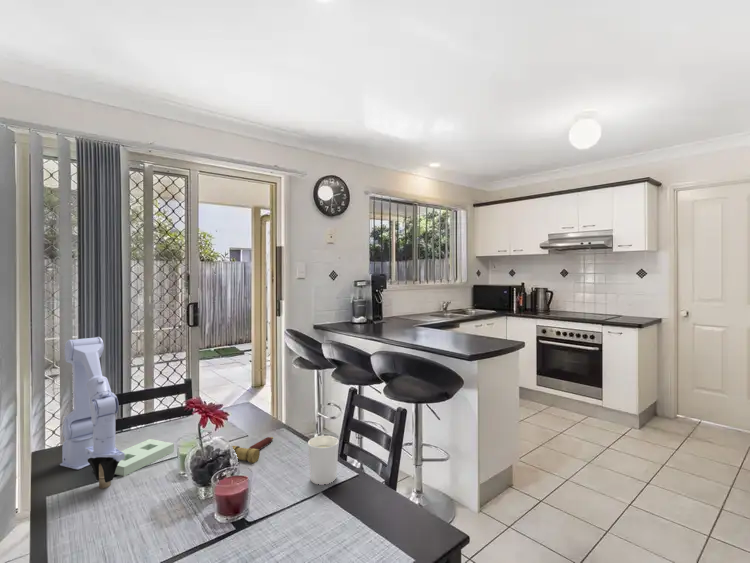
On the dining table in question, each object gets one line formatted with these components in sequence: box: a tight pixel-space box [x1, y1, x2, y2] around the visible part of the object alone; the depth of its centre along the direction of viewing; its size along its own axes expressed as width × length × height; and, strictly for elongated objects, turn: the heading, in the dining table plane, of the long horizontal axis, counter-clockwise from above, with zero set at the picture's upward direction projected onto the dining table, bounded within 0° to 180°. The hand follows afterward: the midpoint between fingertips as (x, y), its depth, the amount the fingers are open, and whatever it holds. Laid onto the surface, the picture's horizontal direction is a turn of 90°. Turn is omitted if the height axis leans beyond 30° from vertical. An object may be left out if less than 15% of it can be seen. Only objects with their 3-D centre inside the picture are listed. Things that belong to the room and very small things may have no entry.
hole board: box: [114, 438, 175, 477], centre depth 145 cm, size 12×20×3 cm, turn 160°
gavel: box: [231, 436, 274, 464], centre depth 154 cm, size 21×5×10 cm
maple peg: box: [98, 464, 112, 490], centre depth 127 cm, size 3×3×7 cm
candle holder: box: [307, 435, 340, 486], centre depth 132 cm, size 10×10×12 cm
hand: (104, 479), depth 127 cm, fingers closed on maple peg, 3 cm apart
